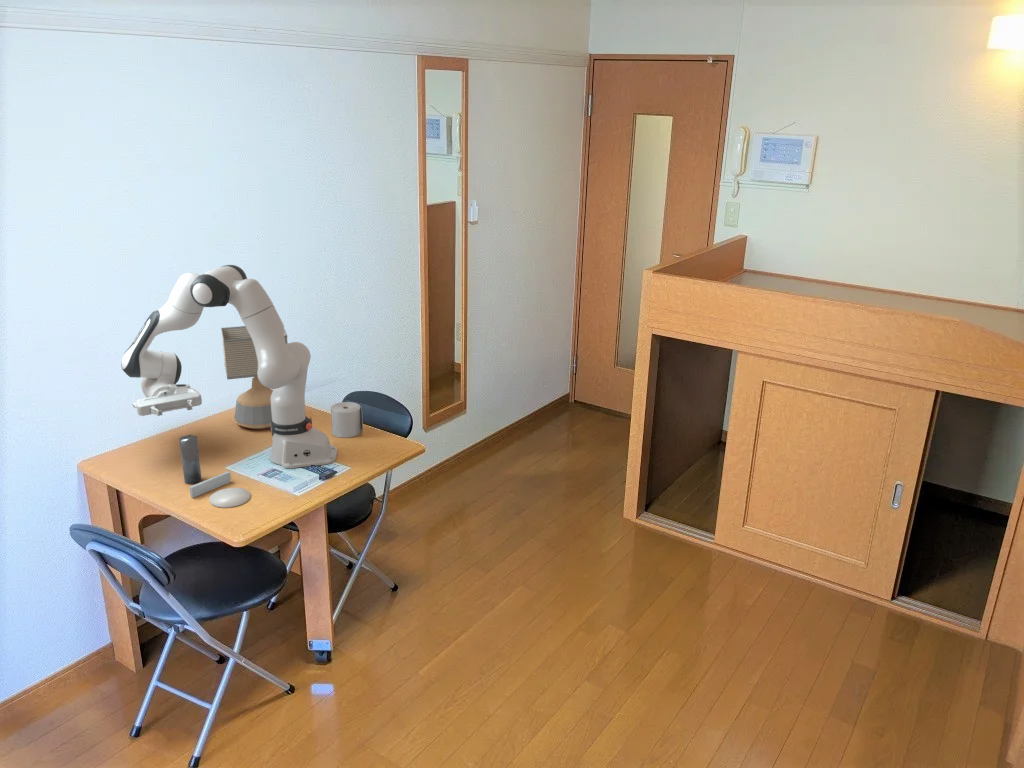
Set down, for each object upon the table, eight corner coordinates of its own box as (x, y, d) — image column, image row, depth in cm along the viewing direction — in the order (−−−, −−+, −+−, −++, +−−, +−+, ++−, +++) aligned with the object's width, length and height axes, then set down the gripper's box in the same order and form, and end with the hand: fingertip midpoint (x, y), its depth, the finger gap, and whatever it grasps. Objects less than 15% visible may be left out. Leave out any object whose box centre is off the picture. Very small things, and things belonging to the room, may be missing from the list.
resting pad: (253, 488, 265) (253, 487, 265) (246, 507, 254) (246, 505, 253) (214, 489, 263) (214, 488, 263) (205, 508, 252) (205, 506, 252)
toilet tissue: (334, 426, 313) (333, 401, 309) (366, 426, 313) (365, 402, 310) (329, 438, 303) (328, 412, 299) (362, 438, 303) (361, 412, 300)
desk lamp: (233, 435, 302) (223, 339, 289) (229, 416, 319) (220, 324, 306) (294, 428, 310) (287, 334, 297) (287, 410, 326) (281, 319, 314)
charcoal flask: (203, 476, 272) (198, 434, 266) (199, 484, 267) (194, 441, 262) (186, 477, 271) (181, 434, 266) (182, 484, 266) (177, 441, 261)
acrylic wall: (229, 480, 269) (228, 471, 268) (231, 481, 269) (230, 472, 268) (190, 497, 259) (189, 486, 257) (192, 497, 258) (191, 487, 257)
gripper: (129, 394, 275) (140, 407, 264) (193, 383, 286) (205, 395, 276) (132, 411, 277) (142, 426, 266) (195, 400, 288) (207, 413, 278)
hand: (175, 410), depth 271 cm, fingers open, 8 cm apart
